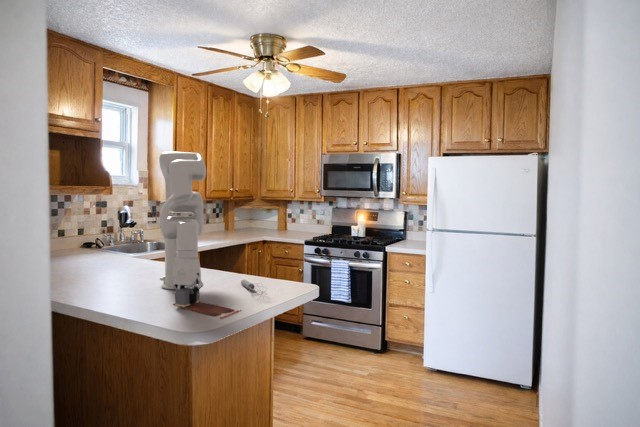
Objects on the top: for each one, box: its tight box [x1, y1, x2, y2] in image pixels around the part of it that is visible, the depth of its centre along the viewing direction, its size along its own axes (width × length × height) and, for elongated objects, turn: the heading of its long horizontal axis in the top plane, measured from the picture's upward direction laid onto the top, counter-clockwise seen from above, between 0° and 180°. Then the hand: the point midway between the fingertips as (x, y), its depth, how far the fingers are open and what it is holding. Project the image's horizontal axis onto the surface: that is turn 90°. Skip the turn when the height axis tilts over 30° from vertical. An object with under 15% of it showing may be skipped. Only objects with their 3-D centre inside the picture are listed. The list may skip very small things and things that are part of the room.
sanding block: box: [174, 286, 200, 307], centre depth 166 cm, size 4×8×6 cm, turn 154°
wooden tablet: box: [172, 301, 235, 317], centre depth 165 cm, size 27×10×2 cm, turn 54°
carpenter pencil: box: [219, 308, 242, 320], centre depth 156 cm, size 1×12×1 cm, turn 154°
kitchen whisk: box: [240, 278, 268, 300], centre depth 190 cm, size 6×34×6 cm, turn 23°
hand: (187, 302), depth 166 cm, fingers closed on sanding block, 4 cm apart
